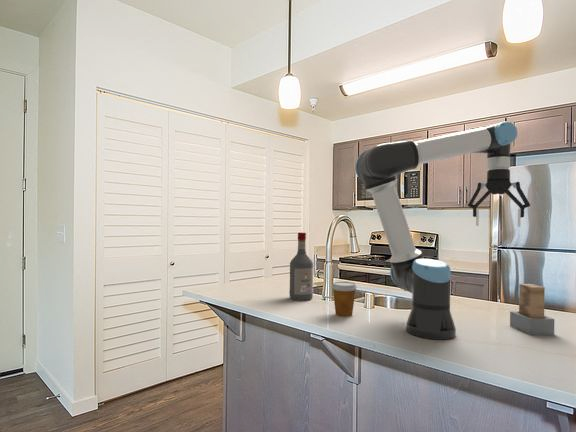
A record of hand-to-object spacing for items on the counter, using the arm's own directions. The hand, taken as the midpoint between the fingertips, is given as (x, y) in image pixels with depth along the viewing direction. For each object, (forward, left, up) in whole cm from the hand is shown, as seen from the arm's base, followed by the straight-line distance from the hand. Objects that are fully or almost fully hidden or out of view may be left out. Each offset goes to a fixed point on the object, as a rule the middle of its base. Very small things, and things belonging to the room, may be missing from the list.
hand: (497, 226), depth 141 cm
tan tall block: (+10, -10, -34) cm, 37 cm away
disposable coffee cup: (-52, -23, -35) cm, 67 cm away
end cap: (+10, -10, -35) cm, 37 cm away
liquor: (-78, -6, -35) cm, 86 cm away
